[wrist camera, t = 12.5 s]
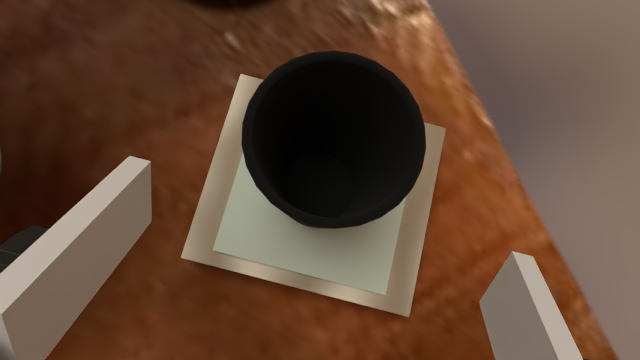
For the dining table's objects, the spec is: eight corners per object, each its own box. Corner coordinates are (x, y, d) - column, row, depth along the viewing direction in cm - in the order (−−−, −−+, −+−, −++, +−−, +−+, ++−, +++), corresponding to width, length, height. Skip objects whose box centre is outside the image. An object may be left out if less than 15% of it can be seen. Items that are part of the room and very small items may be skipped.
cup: (296, 118, 29) (297, 20, 17) (389, 166, 29) (455, 100, 17) (243, 211, 28) (205, 171, 16) (341, 263, 27) (377, 263, 15)
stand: (193, 258, 31) (178, 257, 27) (246, 93, 34) (239, 70, 30) (396, 311, 31) (411, 317, 27) (430, 142, 34) (448, 126, 30)
